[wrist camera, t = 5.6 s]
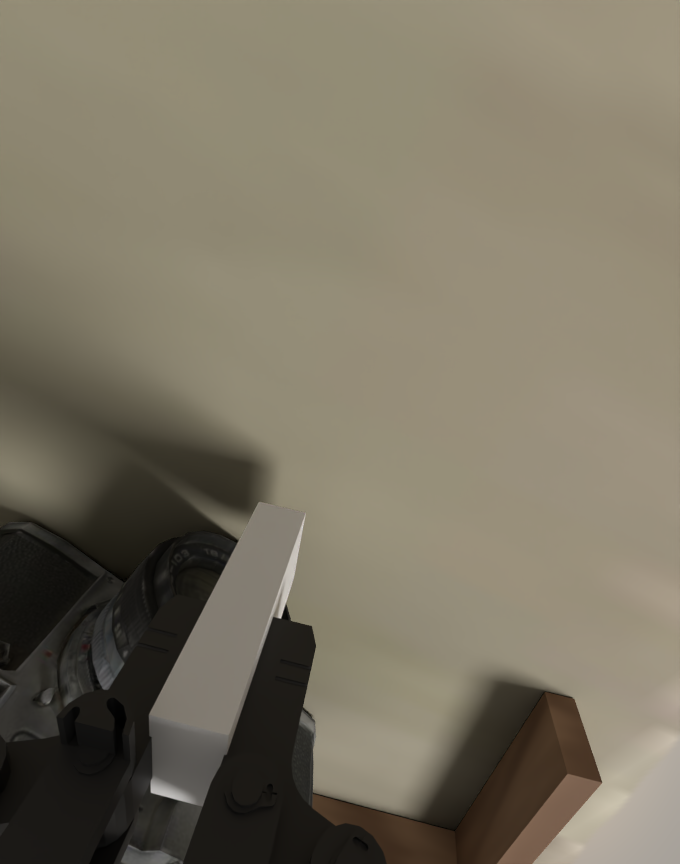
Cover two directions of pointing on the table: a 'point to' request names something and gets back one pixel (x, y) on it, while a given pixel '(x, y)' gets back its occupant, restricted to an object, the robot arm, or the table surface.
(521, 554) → the table surface
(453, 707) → the table surface
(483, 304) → the table surface
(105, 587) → the camera
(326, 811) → the dock
